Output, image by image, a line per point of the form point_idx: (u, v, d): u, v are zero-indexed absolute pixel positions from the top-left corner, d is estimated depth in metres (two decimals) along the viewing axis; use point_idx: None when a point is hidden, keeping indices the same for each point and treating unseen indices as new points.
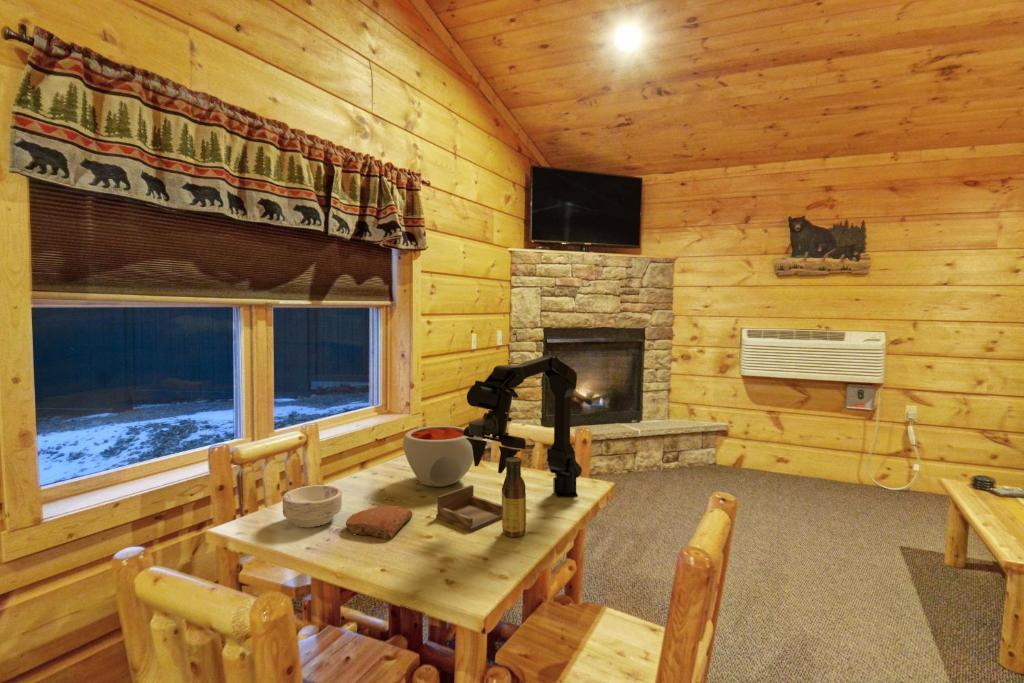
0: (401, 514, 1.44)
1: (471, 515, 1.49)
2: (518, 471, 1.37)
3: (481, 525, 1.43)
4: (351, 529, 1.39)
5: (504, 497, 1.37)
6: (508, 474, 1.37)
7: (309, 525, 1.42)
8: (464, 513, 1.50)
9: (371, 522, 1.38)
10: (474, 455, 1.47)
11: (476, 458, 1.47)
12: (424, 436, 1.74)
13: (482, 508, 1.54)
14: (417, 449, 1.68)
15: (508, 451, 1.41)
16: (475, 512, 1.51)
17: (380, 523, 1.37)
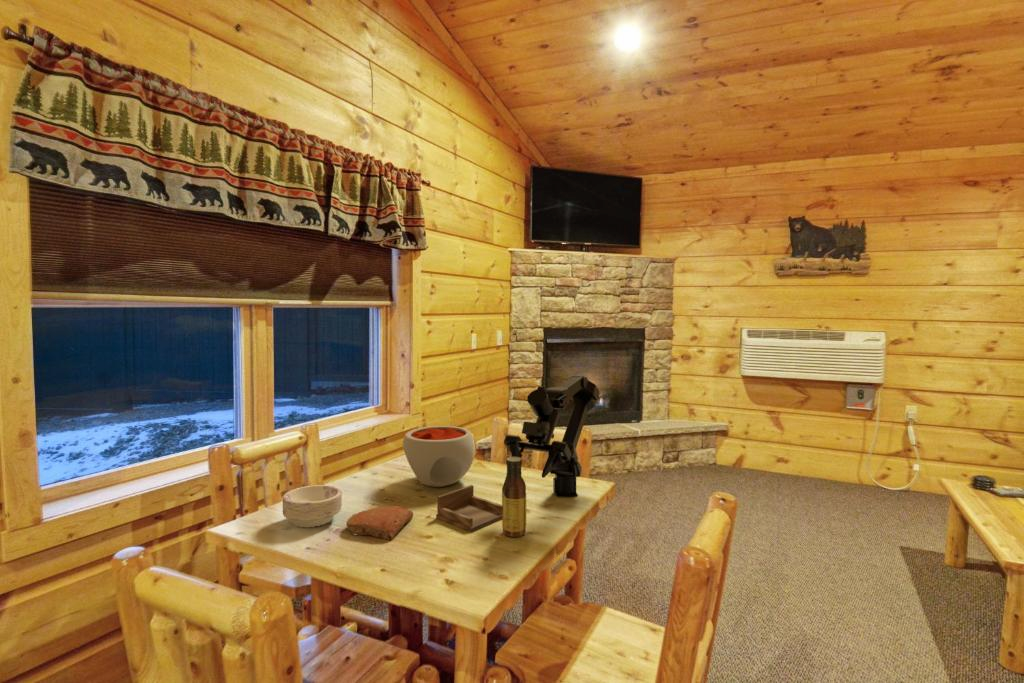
0: (402, 515, 1.43)
1: (471, 515, 1.49)
2: (519, 471, 1.37)
3: (481, 525, 1.43)
4: (352, 529, 1.39)
5: (504, 497, 1.37)
6: (509, 474, 1.37)
7: (309, 525, 1.42)
8: (464, 513, 1.50)
9: (372, 522, 1.38)
10: None
11: None
12: (424, 436, 1.74)
13: (482, 508, 1.54)
14: (417, 449, 1.68)
15: (553, 459, 1.46)
16: (475, 512, 1.51)
17: (381, 523, 1.37)
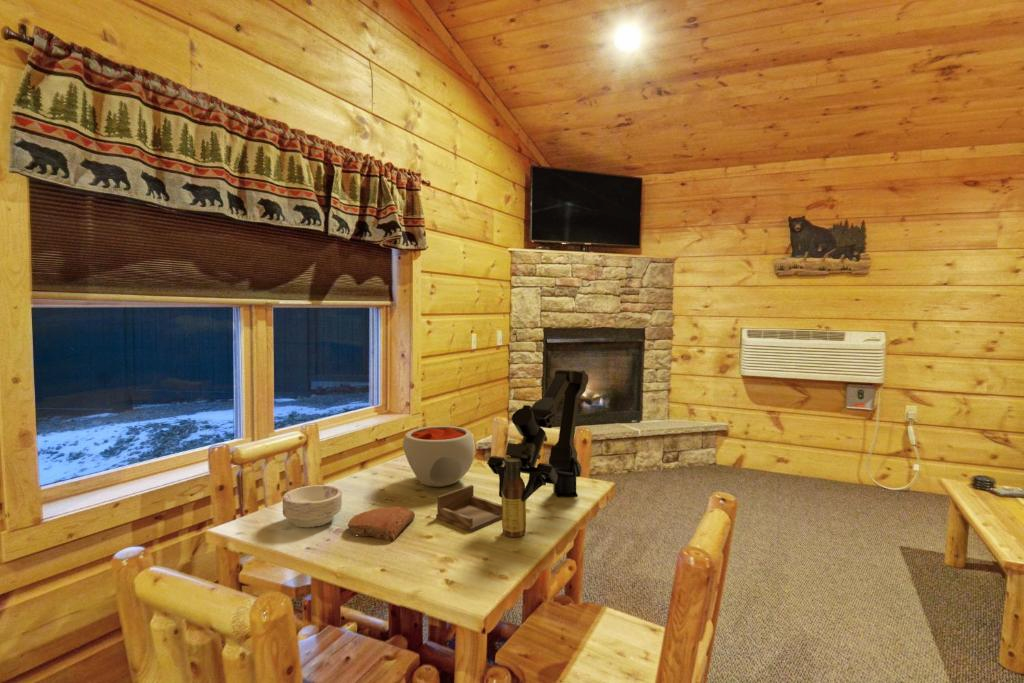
0: (403, 515, 1.43)
1: (471, 515, 1.49)
2: (518, 471, 1.37)
3: (481, 525, 1.43)
4: (353, 530, 1.38)
5: (503, 497, 1.37)
6: (508, 474, 1.37)
7: (309, 525, 1.42)
8: (464, 513, 1.50)
9: (374, 523, 1.37)
10: (501, 485, 1.40)
11: None
12: (424, 436, 1.74)
13: (482, 508, 1.54)
14: (417, 449, 1.68)
15: (534, 481, 1.39)
16: (475, 512, 1.51)
17: (382, 524, 1.37)
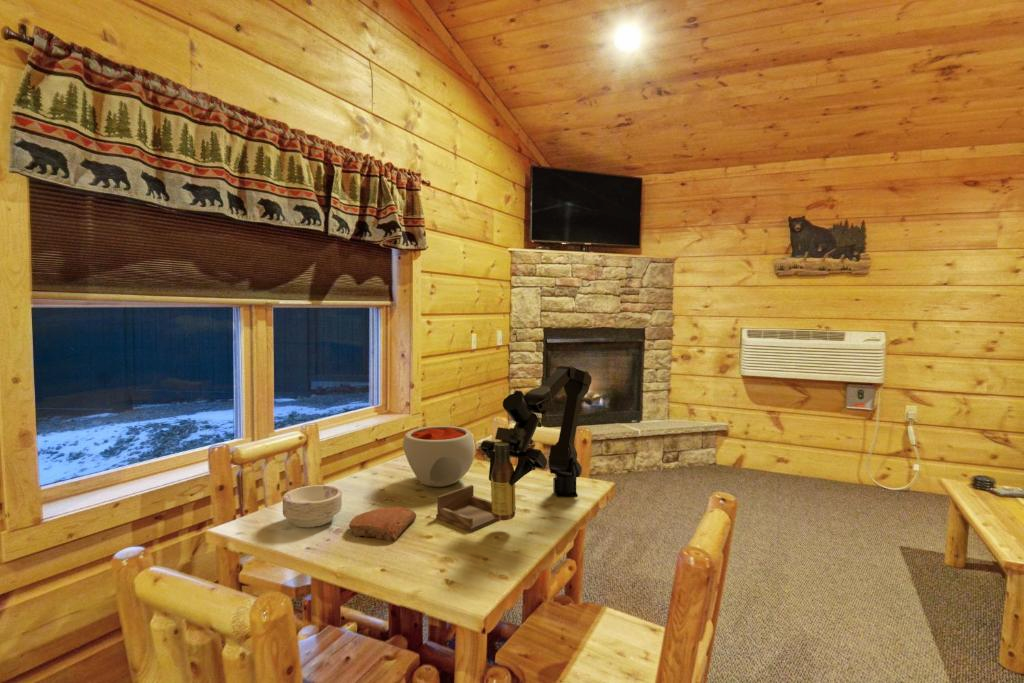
0: (405, 516, 1.42)
1: (471, 515, 1.49)
2: (506, 455, 1.38)
3: (481, 525, 1.43)
4: (354, 531, 1.38)
5: (492, 481, 1.39)
6: (496, 458, 1.38)
7: (309, 525, 1.42)
8: (464, 513, 1.50)
9: (375, 524, 1.37)
10: (491, 468, 1.42)
11: None
12: (424, 436, 1.74)
13: (482, 508, 1.54)
14: (417, 449, 1.68)
15: (523, 466, 1.40)
16: (475, 512, 1.51)
17: (384, 525, 1.36)
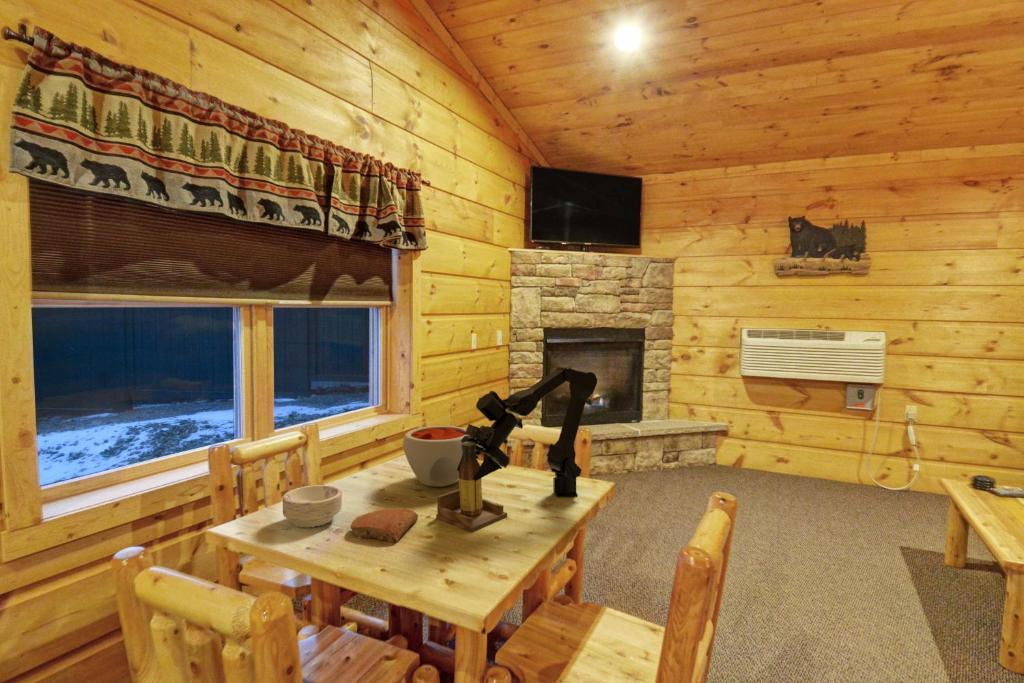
0: (407, 517, 1.42)
1: None
2: (470, 455, 1.48)
3: (481, 525, 1.43)
4: (356, 532, 1.37)
5: (459, 477, 1.49)
6: (462, 457, 1.49)
7: (309, 525, 1.42)
8: None
9: (376, 525, 1.36)
10: (461, 460, 1.54)
11: None
12: (424, 436, 1.74)
13: (482, 508, 1.54)
14: (417, 449, 1.68)
15: (490, 464, 1.46)
16: None
17: (385, 526, 1.36)
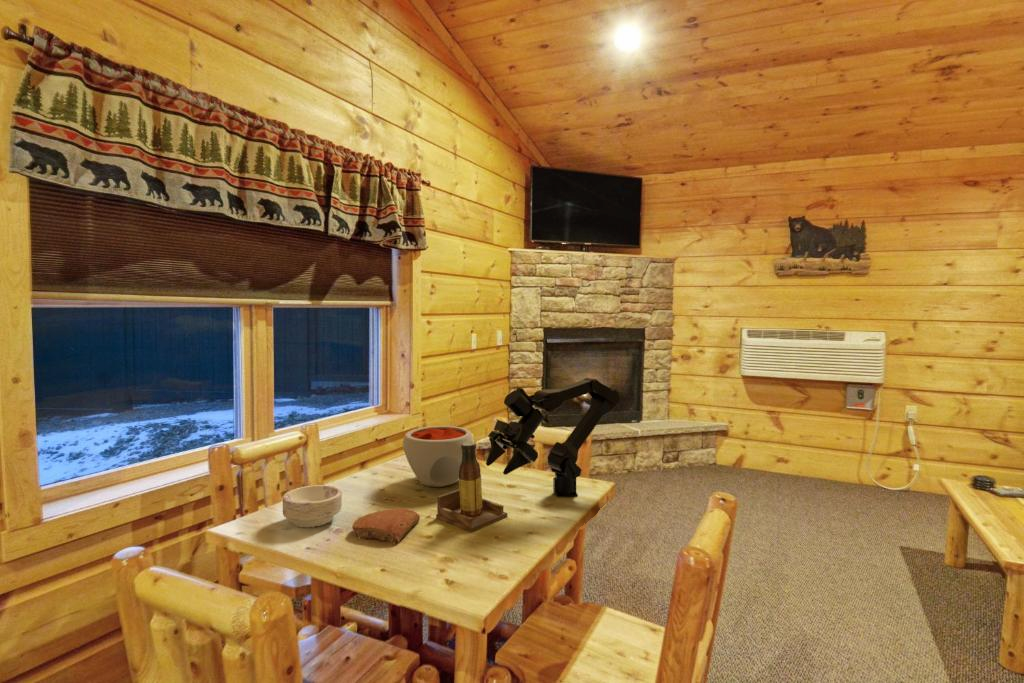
0: (408, 518, 1.41)
1: None
2: (470, 455, 1.48)
3: (481, 525, 1.43)
4: (358, 533, 1.37)
5: None
6: (462, 457, 1.49)
7: (309, 525, 1.42)
8: None
9: (378, 526, 1.36)
10: (489, 455, 1.59)
11: (490, 458, 1.58)
12: (424, 436, 1.74)
13: (482, 508, 1.54)
14: (417, 449, 1.68)
15: (519, 458, 1.52)
16: None
17: (387, 527, 1.35)
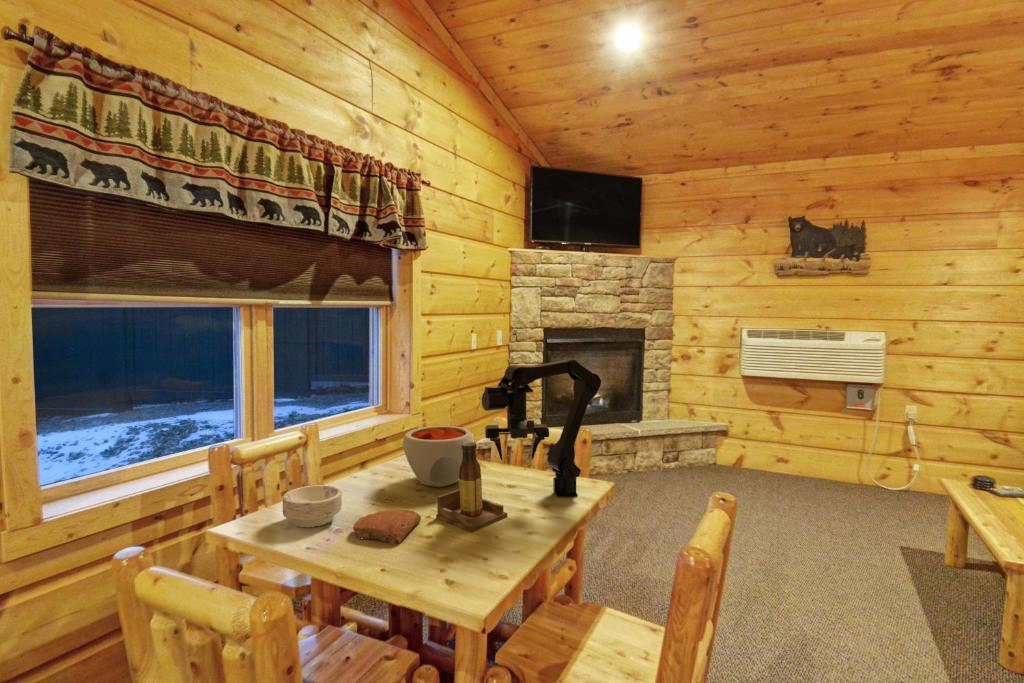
0: (409, 518, 1.41)
1: None
2: (470, 455, 1.47)
3: (481, 525, 1.43)
4: (358, 533, 1.36)
5: (459, 478, 1.49)
6: (462, 457, 1.49)
7: (309, 525, 1.42)
8: None
9: (379, 526, 1.35)
10: (500, 451, 1.59)
11: (501, 453, 1.60)
12: (424, 436, 1.74)
13: (482, 508, 1.54)
14: (417, 449, 1.68)
15: None
16: None
17: (388, 527, 1.35)
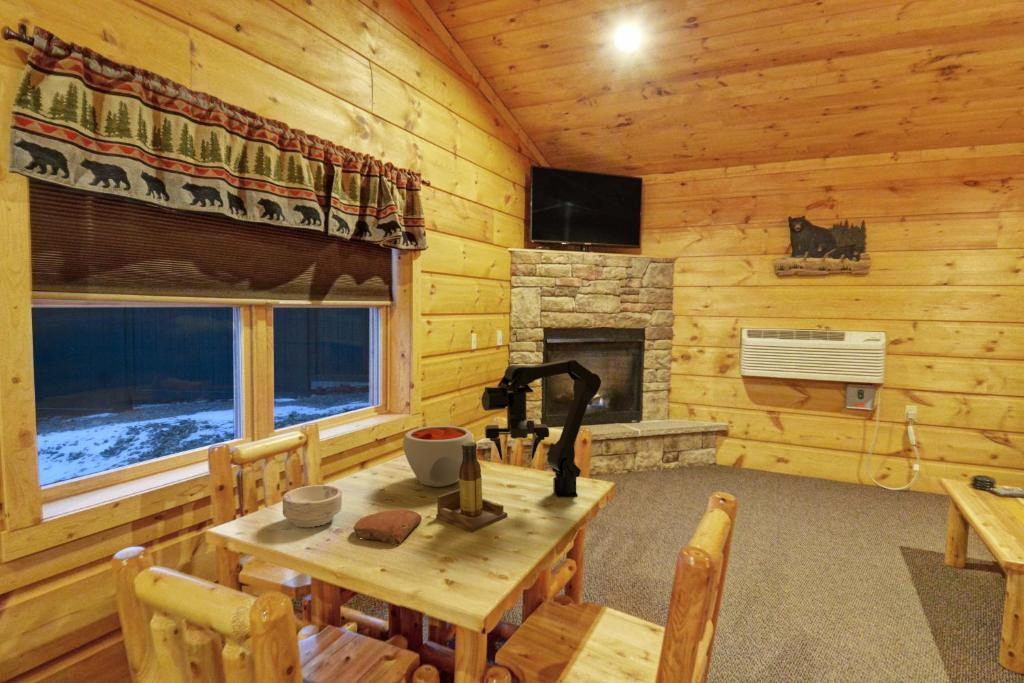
0: (410, 519, 1.41)
1: None
2: (470, 455, 1.47)
3: (481, 525, 1.43)
4: (359, 534, 1.36)
5: (459, 478, 1.49)
6: (463, 457, 1.49)
7: (309, 525, 1.42)
8: None
9: (380, 527, 1.35)
10: (500, 451, 1.59)
11: (501, 453, 1.60)
12: (424, 436, 1.74)
13: (482, 508, 1.54)
14: (417, 449, 1.68)
15: None
16: None
17: (389, 528, 1.35)
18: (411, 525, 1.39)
